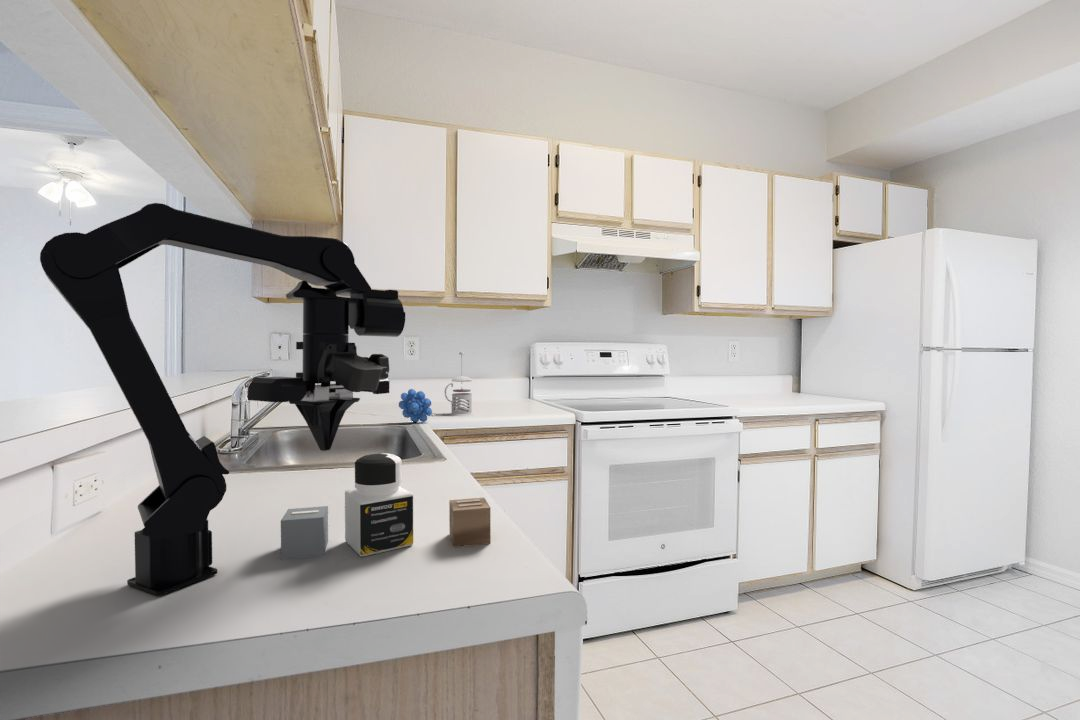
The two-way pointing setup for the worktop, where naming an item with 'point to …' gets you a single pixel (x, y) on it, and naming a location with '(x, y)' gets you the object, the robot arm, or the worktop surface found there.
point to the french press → (461, 397)
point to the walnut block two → (469, 522)
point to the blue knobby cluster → (415, 406)
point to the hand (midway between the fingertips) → (325, 450)
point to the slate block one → (304, 532)
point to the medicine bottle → (378, 507)
